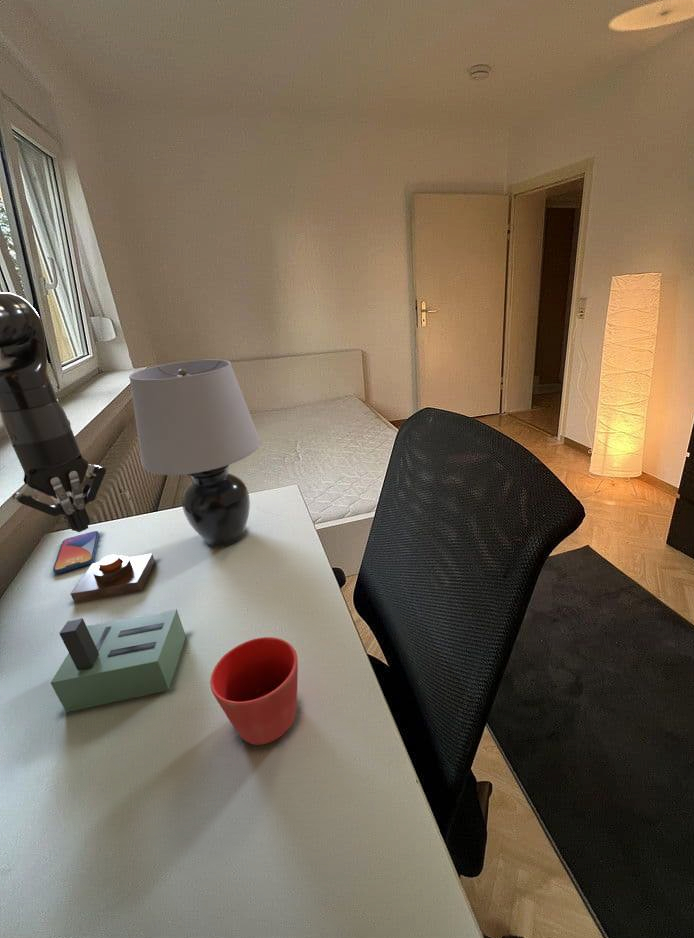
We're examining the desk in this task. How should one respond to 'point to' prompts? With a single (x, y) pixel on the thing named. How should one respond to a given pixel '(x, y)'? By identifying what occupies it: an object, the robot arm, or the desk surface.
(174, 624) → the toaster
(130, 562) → the box
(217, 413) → the lamp
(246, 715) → the flower pot
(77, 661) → the slide button
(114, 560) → the round button
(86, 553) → the smartphone
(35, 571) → the desk surface
